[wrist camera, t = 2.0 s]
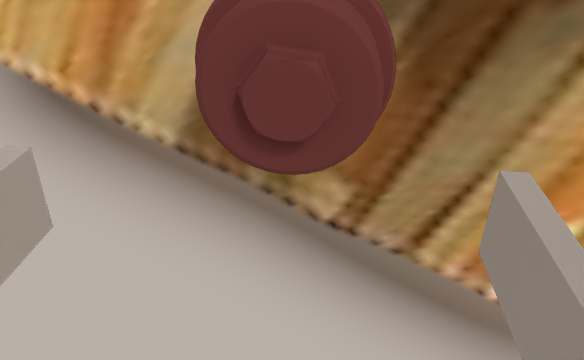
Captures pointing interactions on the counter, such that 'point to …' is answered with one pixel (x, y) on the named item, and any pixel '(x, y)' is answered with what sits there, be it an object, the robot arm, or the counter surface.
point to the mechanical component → (294, 79)
